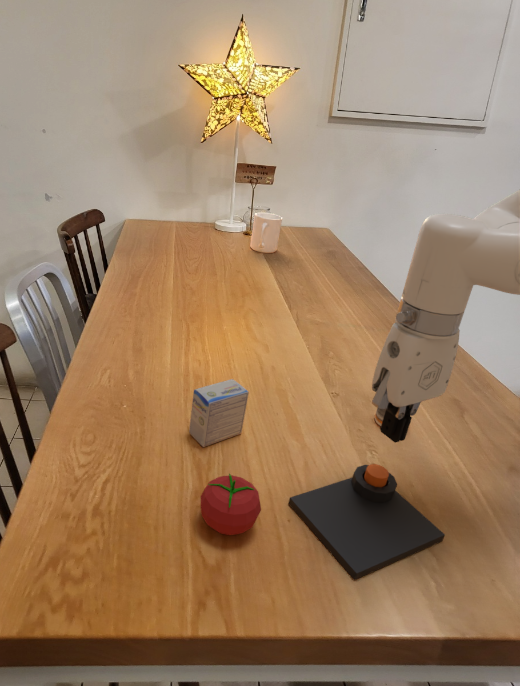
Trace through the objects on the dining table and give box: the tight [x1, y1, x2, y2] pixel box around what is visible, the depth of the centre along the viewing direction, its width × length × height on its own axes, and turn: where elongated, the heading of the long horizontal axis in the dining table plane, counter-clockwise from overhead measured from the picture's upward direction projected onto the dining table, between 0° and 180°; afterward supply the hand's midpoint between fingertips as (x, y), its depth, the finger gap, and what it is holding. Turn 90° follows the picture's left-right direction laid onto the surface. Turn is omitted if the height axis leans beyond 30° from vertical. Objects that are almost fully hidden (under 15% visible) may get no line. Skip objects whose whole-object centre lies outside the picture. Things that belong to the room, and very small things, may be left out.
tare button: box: [364, 463, 390, 487], centre depth 78 cm, size 3×3×2 cm
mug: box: [249, 211, 283, 254], centre depth 184 cm, size 10×12×12 cm
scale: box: [288, 464, 446, 581], centre depth 74 cm, size 16×14×3 cm
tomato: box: [200, 473, 262, 536], centre depth 70 cm, size 8×8×8 cm
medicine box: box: [188, 378, 250, 448], centre depth 87 cm, size 8×4×9 cm, turn 126°
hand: (391, 435), depth 76 cm, fingers closed
